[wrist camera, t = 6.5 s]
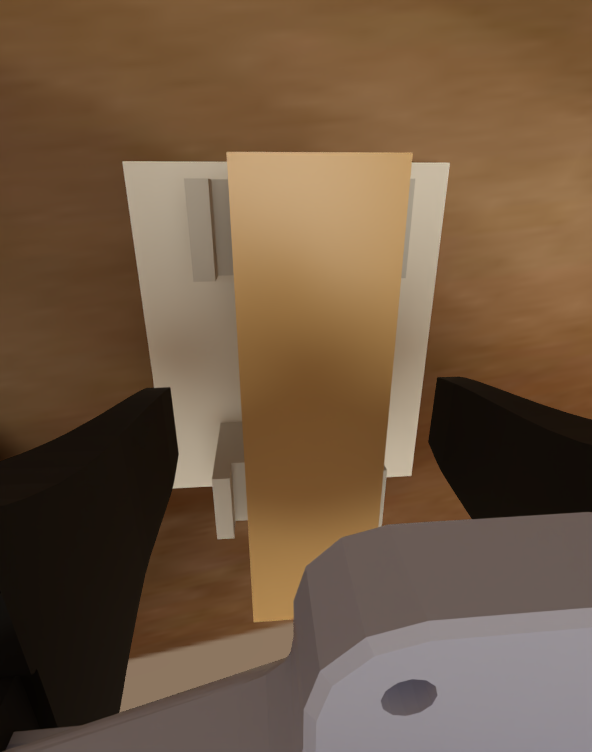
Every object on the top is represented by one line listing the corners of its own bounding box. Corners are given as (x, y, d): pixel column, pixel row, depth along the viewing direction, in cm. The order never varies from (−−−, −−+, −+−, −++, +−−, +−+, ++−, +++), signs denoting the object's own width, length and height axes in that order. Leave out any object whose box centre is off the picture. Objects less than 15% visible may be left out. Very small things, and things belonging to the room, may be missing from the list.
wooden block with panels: (254, 516, 16) (253, 622, 12) (236, 165, 12) (226, 151, 8) (344, 511, 17) (371, 612, 13) (362, 166, 12) (415, 152, 8)
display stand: (172, 475, 20) (148, 556, 16) (130, 163, 15) (76, 151, 11) (404, 463, 21) (444, 537, 16) (438, 164, 16) (510, 153, 11)
